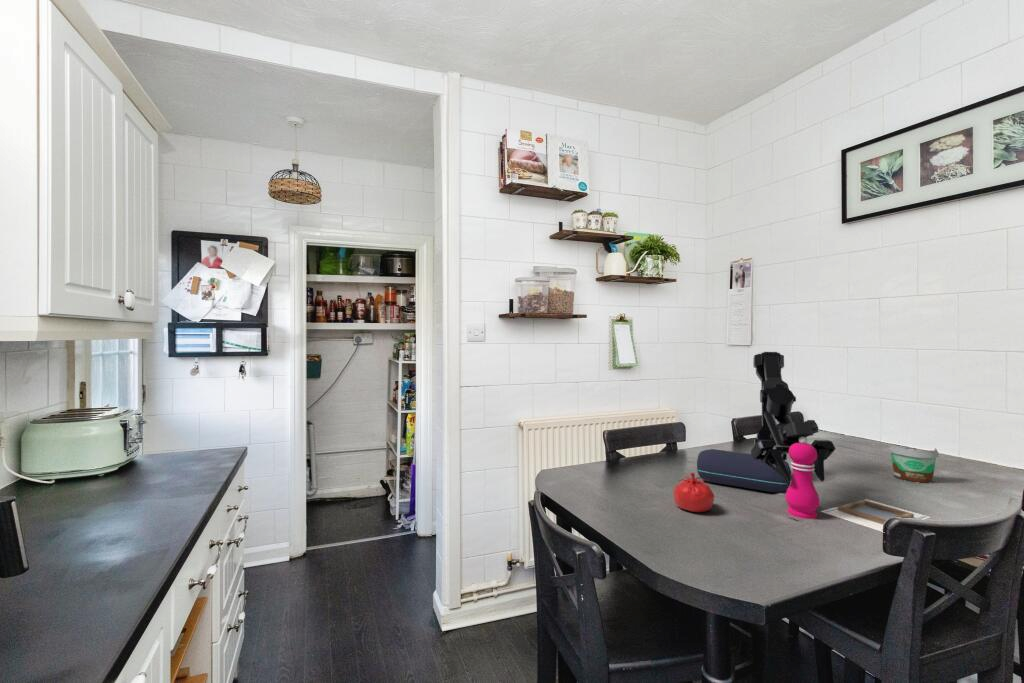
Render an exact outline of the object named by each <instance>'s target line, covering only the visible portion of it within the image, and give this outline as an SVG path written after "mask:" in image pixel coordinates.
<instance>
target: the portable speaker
mask: <svg viewBox="0 0 1024 683" xmlns="http://www.w3.org/2000/svg"><path fill="white" fill-rule="evenodd" d="M783 462H784V465H785V467H786V469H787V471H788V474H789V477H790V481H786V480H785V479H784V478H783V477H782V476H781V475H779V474H778V473H777V472H776V471H775V470H774V469H772V468H771V467H770V466H768V465H767V464H766V463H762V462H761V460H754V459H753V457H752V455H751V453H745V452H738V451H731V450H721V449H715V448H711V449H705V450H702V451H699V453H698V455H697V459H696V469H697V470H696V471H697V474H698V476H699V478H700V479H701V480H702V481H705V480H707V481H706V482H707V483H712V484H719V485H725V486H731V487H737V488H743V489H749V490H750V489H751V490H756V491H761V492H767V493H772V494H781V493H786V492H787V489H788V487H789V486H790V484H791V481H792V470H791V466H790V464H789V462H788V461H787V460H785V461H784V460H783Z"/></svg>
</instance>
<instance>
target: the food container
mask: <svg viewBox="0 0 1024 683" xmlns="http://www.w3.org/2000/svg"><path fill="white" fill-rule="evenodd" d="M888 452H889V453H891V454H890V455H891V461H892V471H893V477H894V478H895V477H896V478H895V479H899V480H901V479H902V480H901V481H904V480H906V481H905V482H909V481H910V483H915V482H919V483H918V484H930V483H929V482H931V483H933V480H934V473H935V467H936V466H935V465H936V460H937V458H939V457H940V454H939V452H938V448H936V447H935V448H934V450H928V449H927V450H926V449H920V448H915V447H913V448H911V447H910V448H909V447H908V448H907V447H906V448H904V447H899V446H898V447H897V446H894V445H893V444H890V447H889V448H888Z"/></svg>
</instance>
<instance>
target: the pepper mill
mask: <svg viewBox="0 0 1024 683" xmlns="http://www.w3.org/2000/svg"><path fill="white" fill-rule="evenodd" d="M806 438H807V437H806ZM806 438H805V437H800V438H799V442H800V443H794V444H793V445H791V446H790V448H789V454H788V456H789V458H790V459H791V461H790V469H792V477H791V482H790V485H789V487H788V488H787V489H786V492H785V497H784V498H785V499H784V500H785V502H786V504H787V505H788V507H787V513H788V514H789V515H791V516H793V517H790V519H791V520H794V521H797V522H802V521H801V520H798V519H796V518H801V519H806V520H813V519H817V518H818V512H817V511H816V510H817V509H818V508H819V506H820V505H821V502H820V498H819V497H820V496H819V494H818V492H817V490H816V487H815V485H814V481H813V473H814V470H815V469H814V466H815V465H814V464H813V462H814V461H815V460H816V459H817V451H816V449H815V448H814V447H813V446H812V445H811V444H810V443H807V442H808V438H807V439H806ZM794 517H796V518H794Z"/></svg>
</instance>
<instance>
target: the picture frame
mask: <svg viewBox="0 0 1024 683" xmlns="http://www.w3.org/2000/svg"><path fill="white" fill-rule="evenodd" d="M864 500H866V501H870V502H873V503H877V504H880V505H884V506H887V507H891V508H894V509H898V510H901V511H905V512H908V513H912V514H914V519H922V521H925V520H928V519H930V518H932V517H931V516H929V515H928V516H927V515H924V514H921V513H917V512H914V511H910V510H906V509H903V508H900V507H896V506H893V505H888V504H886V503H883V502H882V503H881V502H879V501H875V500H871V499H868V498H866V499H864ZM852 510H856V511H859V512H862V513H865V514H869V515H872V516H875V517H878V518H882V519H885V520H886V519H889V518H892V517H896V516H899V515H897V514H893V513H890V512H887V511H883V510H880V509H876V508H873V507H870V506H866V505H865V506H861V507H857V508H854V509H852ZM820 513H824V514H826V515H829V516H830V515H831V516H833V517H835V518H836V517H837V518H839V519H842V520H846V521H849V522H851V523H854V524H857V525H860V526H864V527H867V528H870V529H873V530H876V531H878V532H882V533H884V532H883V525H882V524H879V523H876V522H873V521H870V520H867V519H863V518H860V517H857V516H854V515H851V514H848V513H845V512H841V511H838V506H836V507H832V508H828V509H824V510H821V511H820Z"/></svg>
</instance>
